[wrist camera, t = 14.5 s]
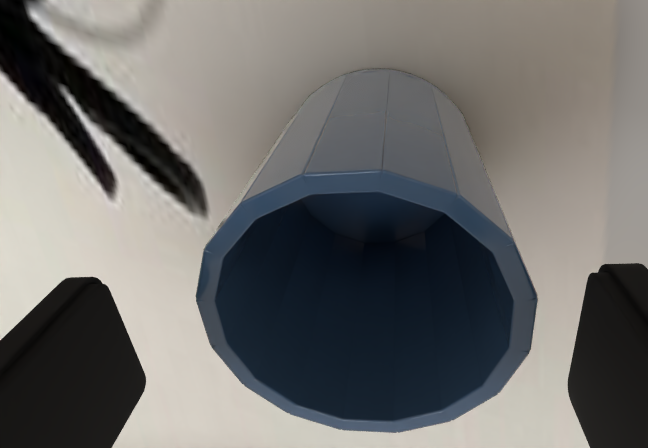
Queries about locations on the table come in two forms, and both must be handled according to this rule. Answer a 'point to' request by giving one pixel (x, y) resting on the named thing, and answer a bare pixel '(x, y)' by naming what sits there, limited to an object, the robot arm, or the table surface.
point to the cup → (369, 264)
